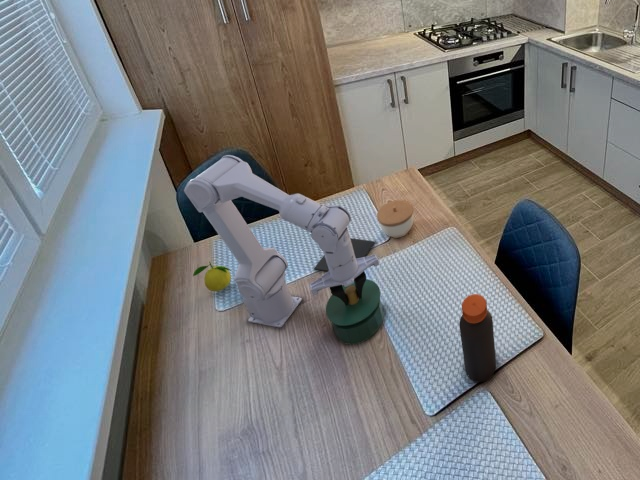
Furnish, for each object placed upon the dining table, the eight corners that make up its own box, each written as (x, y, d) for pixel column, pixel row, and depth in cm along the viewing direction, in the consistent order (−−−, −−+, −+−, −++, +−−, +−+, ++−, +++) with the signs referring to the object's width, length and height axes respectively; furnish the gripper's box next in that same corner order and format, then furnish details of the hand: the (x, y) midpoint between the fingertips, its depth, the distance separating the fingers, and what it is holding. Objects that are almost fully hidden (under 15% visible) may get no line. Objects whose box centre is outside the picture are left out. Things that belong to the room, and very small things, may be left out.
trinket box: (380, 246, 120) (374, 222, 116) (382, 221, 129) (376, 198, 125) (417, 239, 122) (412, 215, 118) (416, 215, 131) (412, 192, 127)
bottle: (500, 356, 90) (496, 294, 81) (489, 387, 84) (483, 325, 75) (472, 347, 92) (465, 286, 83) (459, 377, 86) (450, 314, 77)
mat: (314, 269, 113) (313, 268, 113) (339, 238, 124) (338, 236, 123) (353, 275, 111) (352, 274, 110) (374, 243, 121) (374, 241, 121)
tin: (325, 339, 95) (320, 324, 92) (351, 298, 104) (347, 283, 102) (369, 348, 92) (364, 332, 90) (391, 304, 102) (387, 290, 100)
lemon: (202, 294, 107) (188, 267, 103) (224, 276, 112) (211, 250, 107) (219, 302, 105) (205, 275, 100) (240, 284, 109) (228, 257, 105)
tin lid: (315, 322, 91) (310, 309, 89) (345, 278, 102) (341, 265, 100) (364, 332, 89) (360, 318, 87) (389, 285, 100) (386, 272, 98)
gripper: (308, 285, 82) (323, 328, 88) (378, 253, 90) (388, 295, 95) (302, 262, 88) (317, 305, 94) (369, 234, 95) (379, 275, 101)
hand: (352, 298), depth 95 cm, fingers closed on tin lid, 2 cm apart
